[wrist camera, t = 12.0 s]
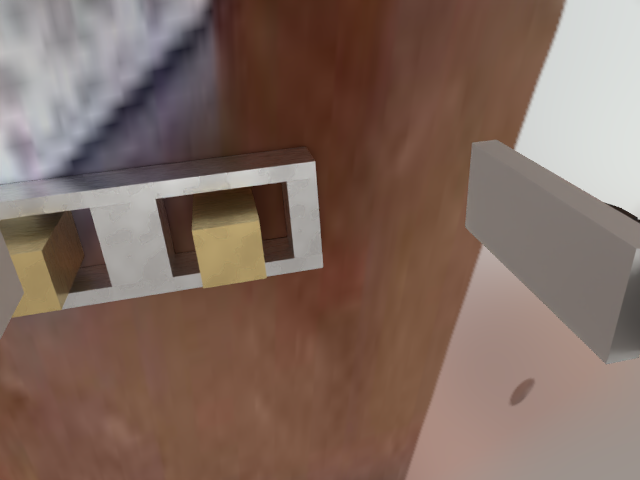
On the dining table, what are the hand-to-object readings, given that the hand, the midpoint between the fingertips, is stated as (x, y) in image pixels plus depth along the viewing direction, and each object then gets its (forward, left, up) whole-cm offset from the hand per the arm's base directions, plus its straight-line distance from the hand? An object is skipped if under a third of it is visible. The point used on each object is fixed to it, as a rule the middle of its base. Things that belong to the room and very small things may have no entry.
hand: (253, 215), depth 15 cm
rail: (+11, -8, -27) cm, 30 cm away
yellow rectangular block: (+11, -1, -27) cm, 29 cm away
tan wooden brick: (+11, -15, -27) cm, 33 cm away
